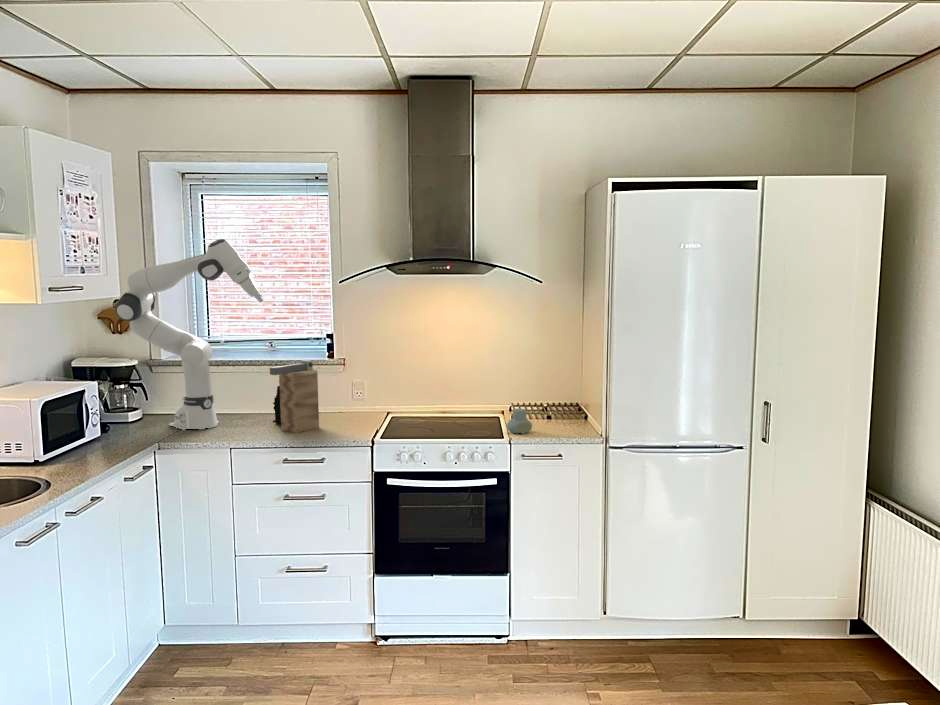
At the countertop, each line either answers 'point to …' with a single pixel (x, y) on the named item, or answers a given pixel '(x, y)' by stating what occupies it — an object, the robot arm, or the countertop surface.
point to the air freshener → (519, 422)
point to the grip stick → (292, 367)
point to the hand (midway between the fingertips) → (261, 299)
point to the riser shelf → (299, 401)
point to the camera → (277, 407)
